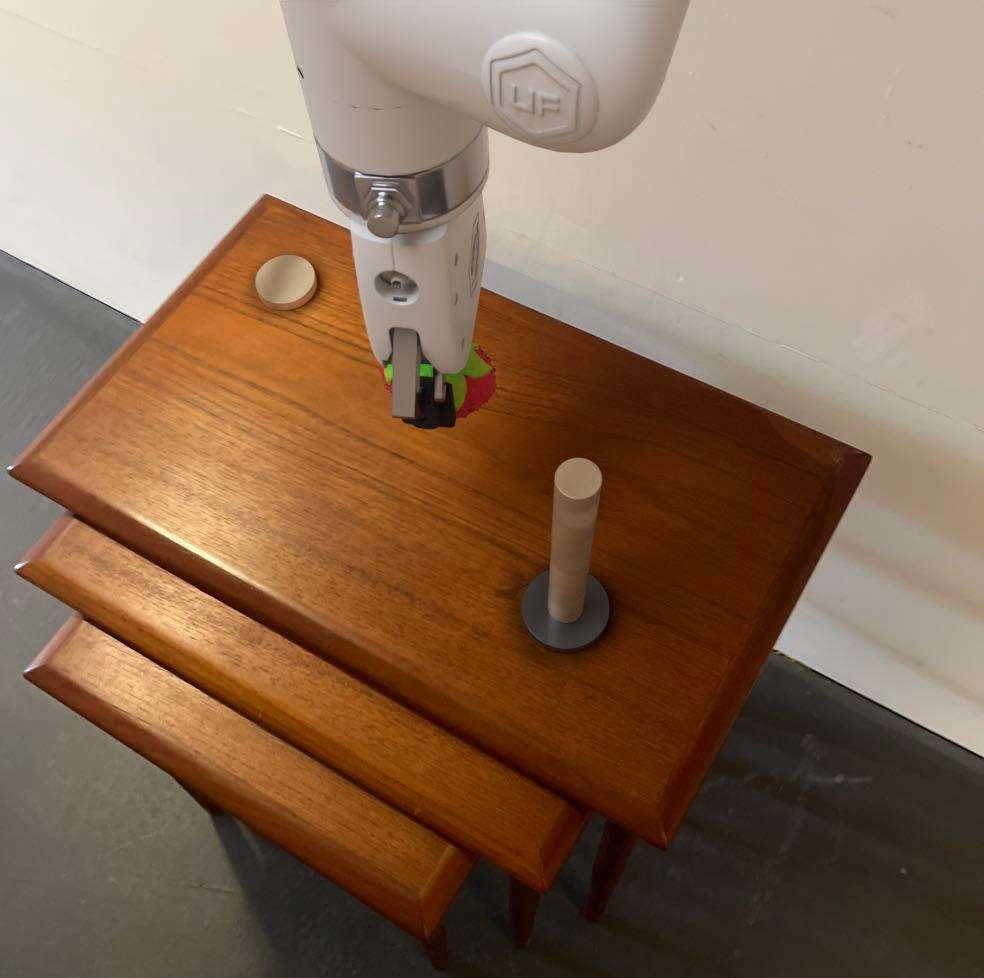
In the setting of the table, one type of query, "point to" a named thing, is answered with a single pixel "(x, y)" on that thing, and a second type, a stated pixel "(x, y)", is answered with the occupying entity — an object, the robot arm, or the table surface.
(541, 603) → the post
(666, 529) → the table surface
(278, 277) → the puck
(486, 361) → the strawberry
